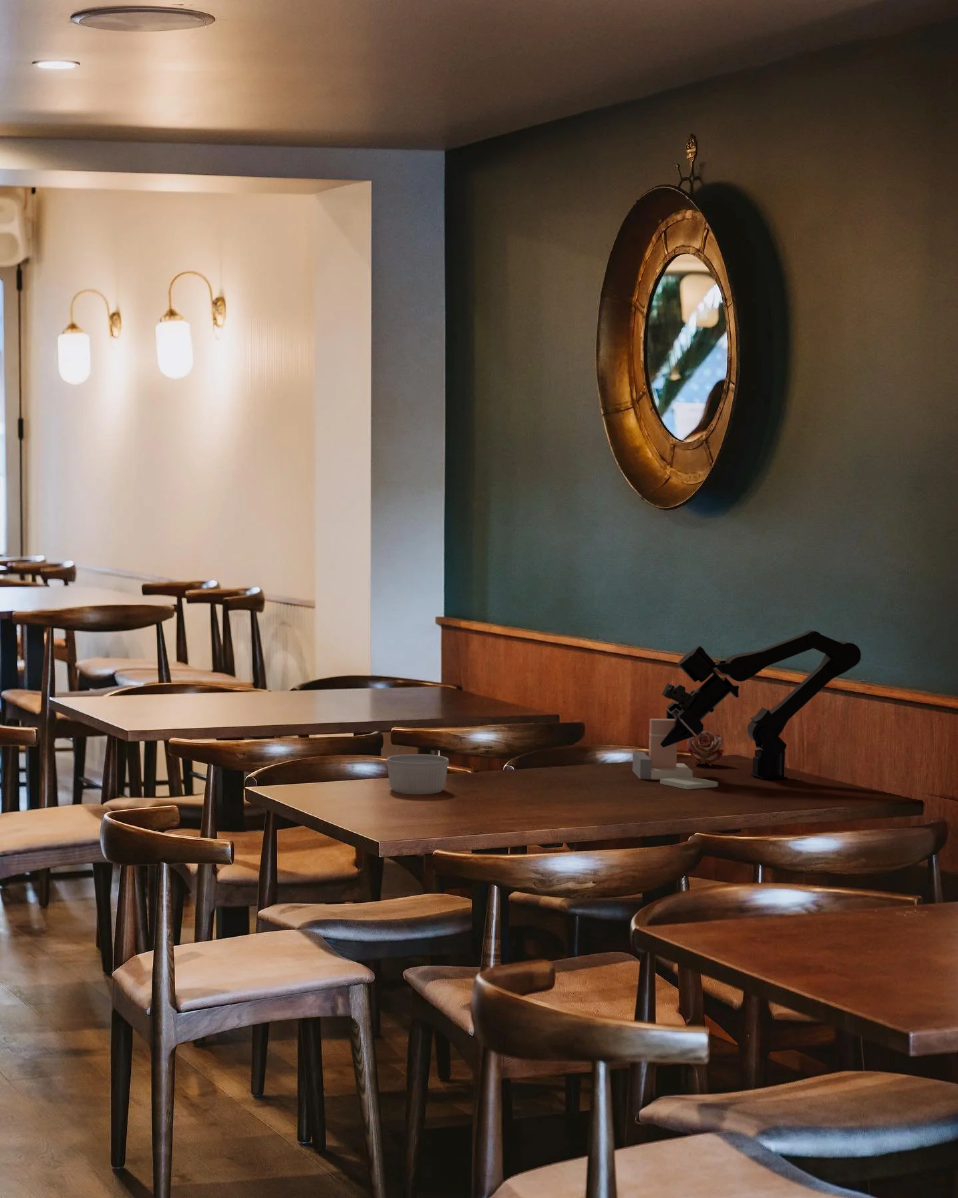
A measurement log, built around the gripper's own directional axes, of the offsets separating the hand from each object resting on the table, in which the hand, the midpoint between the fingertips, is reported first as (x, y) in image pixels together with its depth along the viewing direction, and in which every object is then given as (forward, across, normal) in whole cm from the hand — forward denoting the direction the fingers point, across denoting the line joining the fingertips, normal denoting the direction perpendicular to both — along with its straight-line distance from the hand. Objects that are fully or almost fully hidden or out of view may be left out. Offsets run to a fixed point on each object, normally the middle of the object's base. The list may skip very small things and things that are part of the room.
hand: (658, 743), depth 374 cm
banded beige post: (+4, 0, +6) cm, 8 cm away
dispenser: (+4, 0, +6) cm, 8 cm away
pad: (+2, +14, +9) cm, 16 cm away
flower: (-5, -18, +16) cm, 25 cm away
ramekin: (+45, +27, -34) cm, 62 cm away
